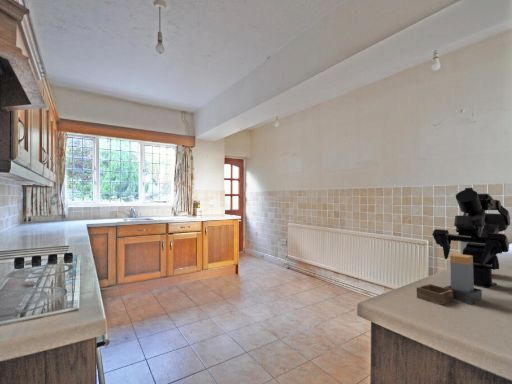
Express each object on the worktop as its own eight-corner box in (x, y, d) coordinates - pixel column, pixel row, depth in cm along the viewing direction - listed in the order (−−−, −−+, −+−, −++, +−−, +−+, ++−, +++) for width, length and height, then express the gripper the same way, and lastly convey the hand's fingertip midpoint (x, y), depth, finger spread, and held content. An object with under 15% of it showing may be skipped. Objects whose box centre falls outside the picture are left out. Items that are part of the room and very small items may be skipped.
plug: (456, 294, 85) (455, 253, 85) (474, 298, 81) (472, 255, 82) (451, 298, 82) (450, 255, 82) (469, 302, 79) (468, 257, 79)
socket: (456, 292, 86) (455, 283, 86) (482, 299, 80) (481, 289, 80) (444, 296, 83) (443, 287, 83) (470, 304, 77) (470, 294, 77)
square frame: (429, 293, 86) (429, 283, 86) (453, 300, 80) (453, 290, 80) (416, 297, 83) (416, 287, 83) (440, 304, 77) (440, 294, 77)
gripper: (433, 205, 94) (421, 241, 87) (505, 206, 79) (498, 249, 72) (442, 226, 98) (431, 261, 91) (511, 231, 84) (505, 273, 77)
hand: (463, 261), depth 83 cm, fingers open, 9 cm apart
